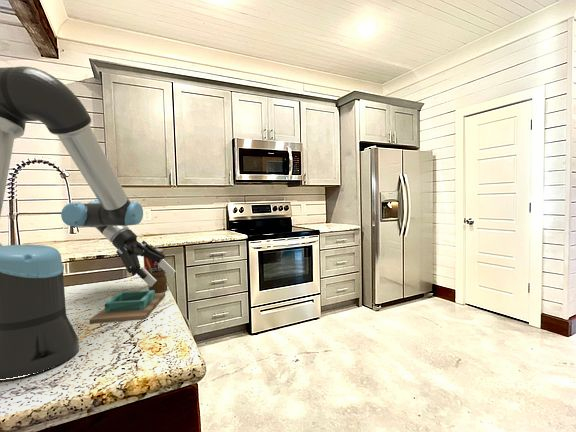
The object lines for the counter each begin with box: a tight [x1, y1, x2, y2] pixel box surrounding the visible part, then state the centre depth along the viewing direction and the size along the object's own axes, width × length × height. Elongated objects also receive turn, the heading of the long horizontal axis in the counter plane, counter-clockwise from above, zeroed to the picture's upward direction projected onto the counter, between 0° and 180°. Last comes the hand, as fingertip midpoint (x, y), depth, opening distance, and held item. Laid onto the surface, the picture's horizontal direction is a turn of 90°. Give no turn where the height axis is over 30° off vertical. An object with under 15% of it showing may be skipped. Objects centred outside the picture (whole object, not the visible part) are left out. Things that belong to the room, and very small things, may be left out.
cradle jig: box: [89, 289, 166, 324], centre depth 92 cm, size 20×14×4 cm
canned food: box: [142, 248, 164, 272], centre depth 130 cm, size 8×8×11 cm
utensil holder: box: [146, 258, 168, 293], centre depth 108 cm, size 6×6×12 cm
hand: (164, 278), depth 107 cm, fingers open, 12 cm apart
